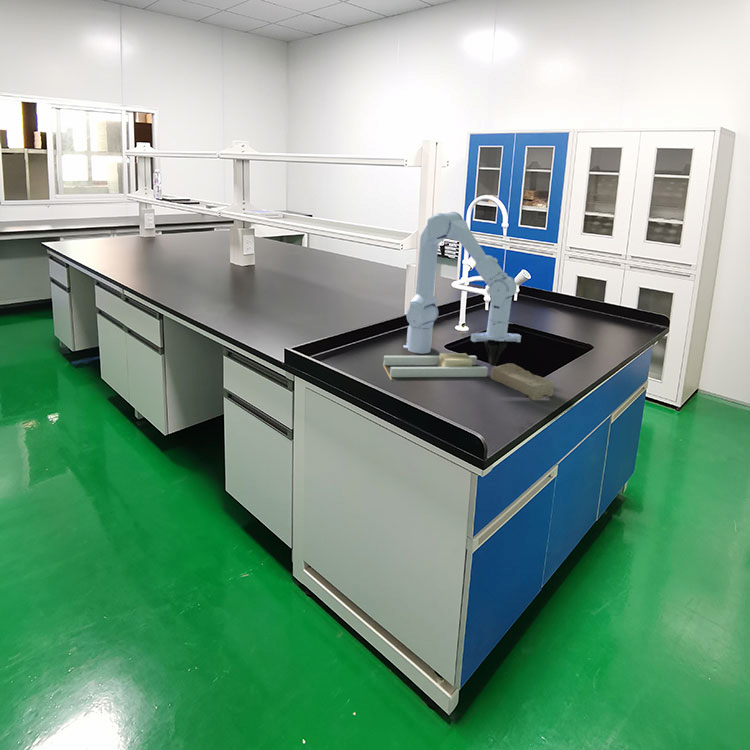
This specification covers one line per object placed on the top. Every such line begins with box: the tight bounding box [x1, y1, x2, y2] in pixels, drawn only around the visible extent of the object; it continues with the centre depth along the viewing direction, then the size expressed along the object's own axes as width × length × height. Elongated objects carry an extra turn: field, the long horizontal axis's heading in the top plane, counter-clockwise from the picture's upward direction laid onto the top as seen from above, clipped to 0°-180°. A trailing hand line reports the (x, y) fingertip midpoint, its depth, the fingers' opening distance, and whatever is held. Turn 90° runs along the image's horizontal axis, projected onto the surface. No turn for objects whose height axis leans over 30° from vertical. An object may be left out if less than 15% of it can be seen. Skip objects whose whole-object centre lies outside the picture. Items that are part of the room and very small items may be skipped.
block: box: [437, 352, 473, 367], centre depth 174 cm, size 6×8×4 cm
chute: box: [382, 355, 489, 382], centre depth 173 cm, size 12×28×3 cm, turn 101°
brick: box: [490, 362, 555, 401], centre depth 166 cm, size 17×8×5 cm, turn 35°
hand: (492, 364), depth 176 cm, fingers closed
